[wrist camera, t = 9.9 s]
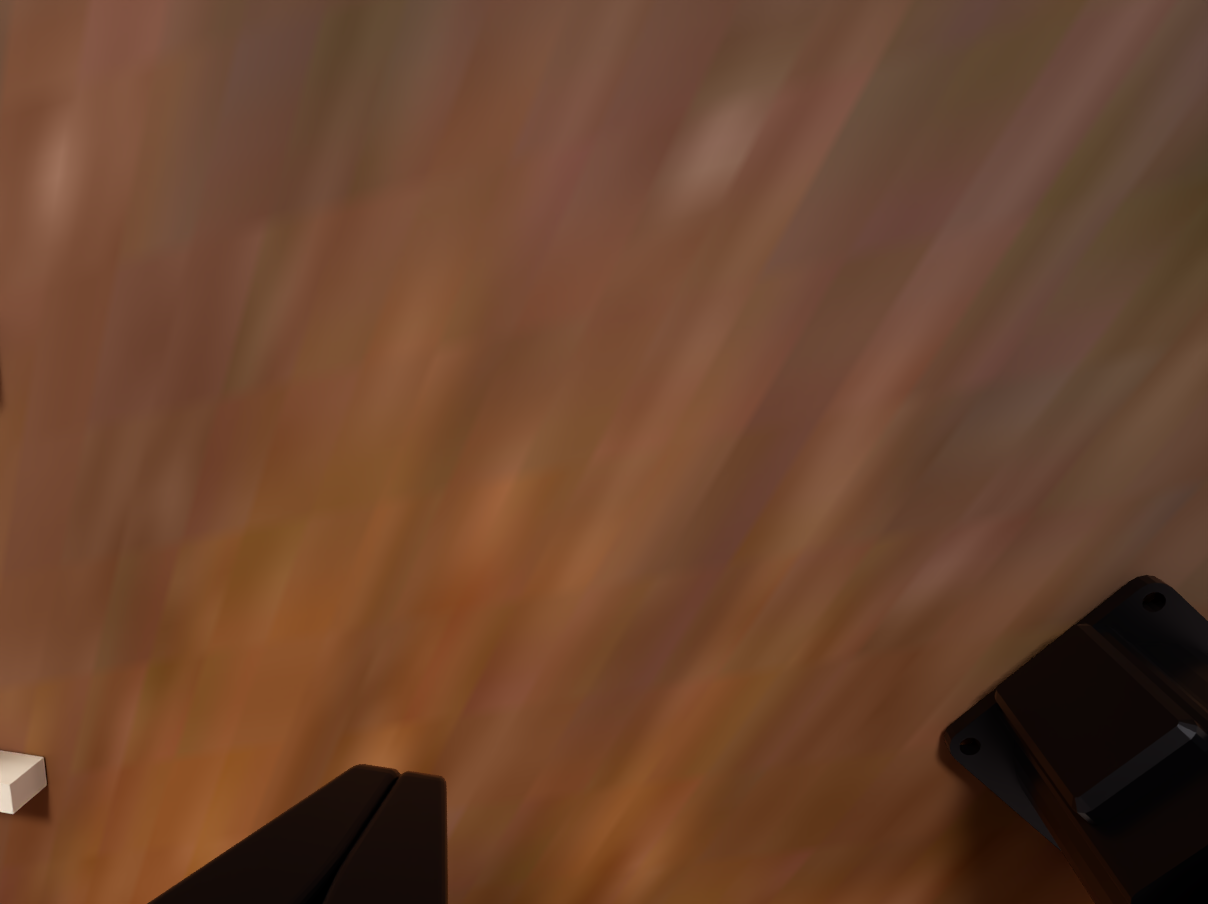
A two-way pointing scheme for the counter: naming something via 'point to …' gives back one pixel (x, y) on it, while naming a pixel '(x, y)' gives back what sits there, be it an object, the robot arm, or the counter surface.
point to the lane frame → (19, 779)
